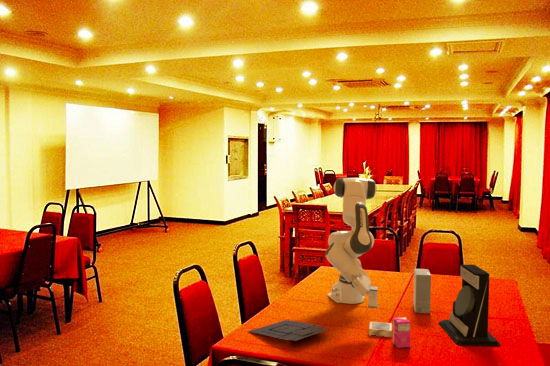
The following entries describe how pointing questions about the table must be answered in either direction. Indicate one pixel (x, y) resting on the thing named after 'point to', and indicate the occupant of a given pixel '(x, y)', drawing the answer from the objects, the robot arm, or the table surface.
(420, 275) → the hard drive box
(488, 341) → the award
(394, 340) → the supplement box
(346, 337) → the table surface
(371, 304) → the plate
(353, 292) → the robot arm
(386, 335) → the oak stand
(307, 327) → the dark grey panelled slab
